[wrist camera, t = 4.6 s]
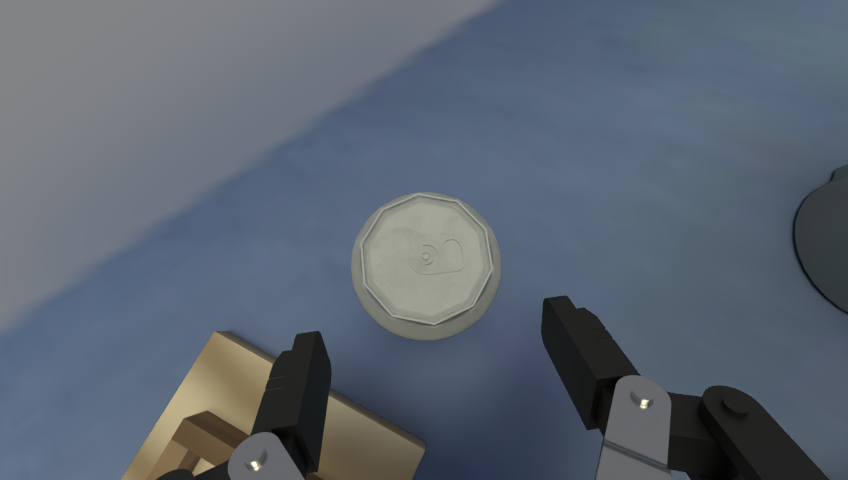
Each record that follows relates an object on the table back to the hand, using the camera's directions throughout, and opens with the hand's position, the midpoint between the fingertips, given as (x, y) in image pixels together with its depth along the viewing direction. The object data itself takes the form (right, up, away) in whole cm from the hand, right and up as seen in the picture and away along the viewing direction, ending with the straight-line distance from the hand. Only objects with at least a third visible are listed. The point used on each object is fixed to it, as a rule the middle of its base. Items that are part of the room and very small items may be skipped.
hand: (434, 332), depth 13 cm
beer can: (0, 0, +9) cm, 9 cm away
